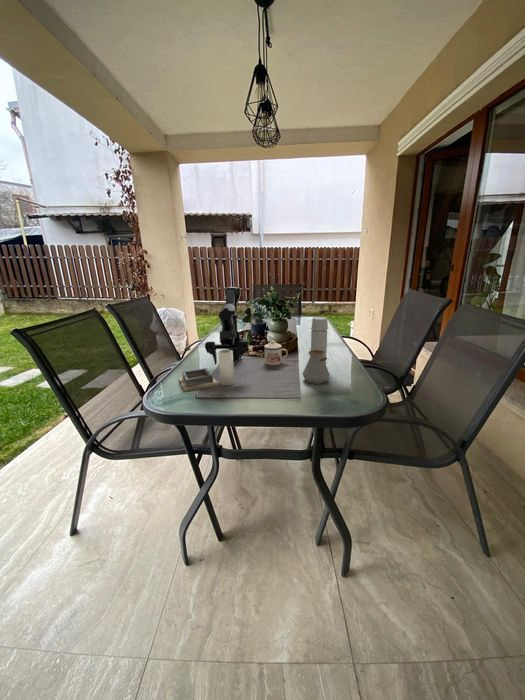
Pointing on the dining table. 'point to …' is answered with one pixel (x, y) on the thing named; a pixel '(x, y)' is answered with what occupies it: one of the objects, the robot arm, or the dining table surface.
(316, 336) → the water bottle
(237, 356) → the robot arm
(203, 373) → the roll holder
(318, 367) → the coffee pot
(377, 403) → the dining table surface
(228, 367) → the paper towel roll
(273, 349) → the teacup with lid
